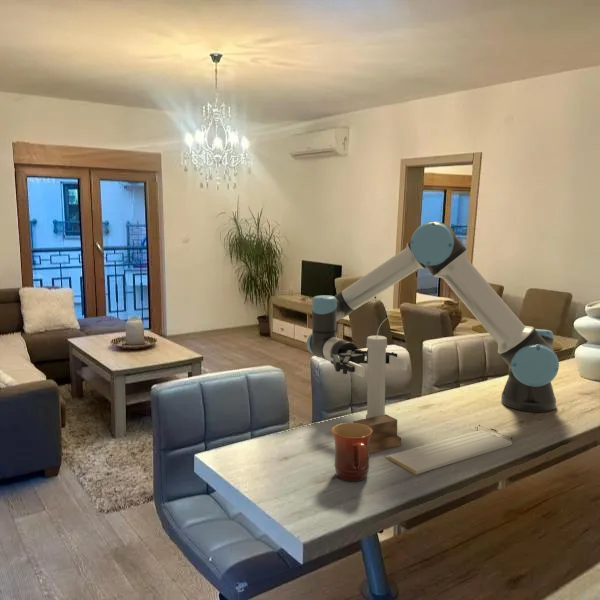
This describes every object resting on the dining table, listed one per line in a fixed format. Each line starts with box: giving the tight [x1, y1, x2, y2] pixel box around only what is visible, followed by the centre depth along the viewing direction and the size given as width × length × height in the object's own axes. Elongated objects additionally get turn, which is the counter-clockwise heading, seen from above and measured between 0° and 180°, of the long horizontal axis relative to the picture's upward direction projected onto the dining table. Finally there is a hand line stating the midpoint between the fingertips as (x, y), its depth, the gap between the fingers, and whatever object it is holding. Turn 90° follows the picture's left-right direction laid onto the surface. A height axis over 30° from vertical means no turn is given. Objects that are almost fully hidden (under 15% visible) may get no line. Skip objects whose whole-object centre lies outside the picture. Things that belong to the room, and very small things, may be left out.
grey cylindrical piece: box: [365, 316, 391, 419], centre depth 144 cm, size 6×6×30 cm
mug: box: [331, 422, 373, 482], centre depth 115 cm, size 12×9×10 cm
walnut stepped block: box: [352, 413, 402, 454], centre depth 133 cm, size 10×8×6 cm
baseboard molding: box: [384, 424, 513, 475], centre depth 130 cm, size 31×3×12 cm
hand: (384, 368), depth 141 cm, fingers open, 13 cm apart
